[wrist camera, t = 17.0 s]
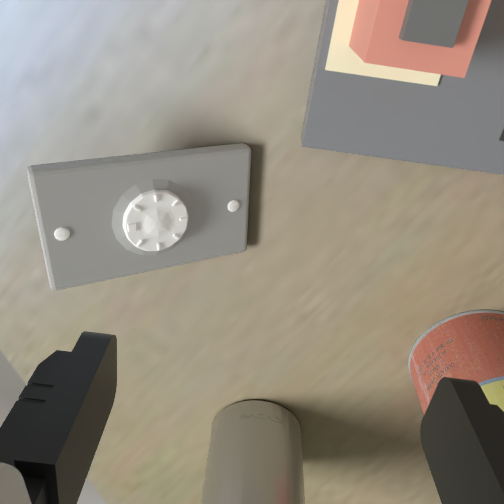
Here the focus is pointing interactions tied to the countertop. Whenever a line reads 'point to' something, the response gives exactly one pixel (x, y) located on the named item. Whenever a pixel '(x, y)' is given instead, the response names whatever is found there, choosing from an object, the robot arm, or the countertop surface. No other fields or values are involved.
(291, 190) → the countertop surface
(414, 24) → the pink square block
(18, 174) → the countertop surface
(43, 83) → the countertop surface
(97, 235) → the light switch
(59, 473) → the robot arm
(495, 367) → the canned food
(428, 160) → the panel
